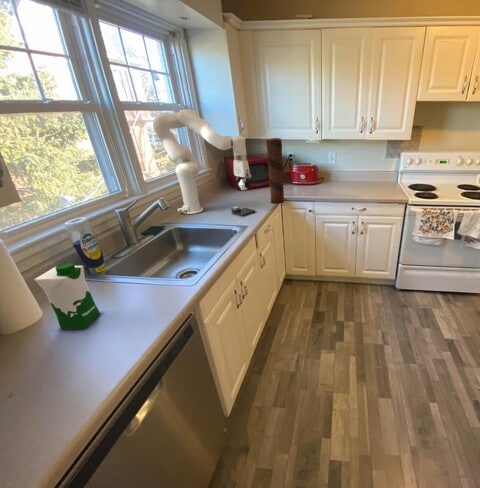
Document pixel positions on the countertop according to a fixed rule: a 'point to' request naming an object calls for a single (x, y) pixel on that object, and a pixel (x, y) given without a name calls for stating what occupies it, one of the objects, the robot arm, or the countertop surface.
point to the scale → (242, 211)
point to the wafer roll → (275, 169)
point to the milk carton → (69, 296)
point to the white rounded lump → (242, 184)
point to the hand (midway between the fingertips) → (243, 186)
